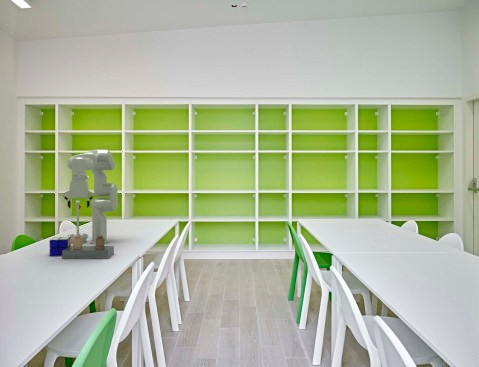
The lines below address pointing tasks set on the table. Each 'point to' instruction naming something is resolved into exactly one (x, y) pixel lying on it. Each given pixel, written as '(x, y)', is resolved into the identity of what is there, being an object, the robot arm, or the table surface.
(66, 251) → the block
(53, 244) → the puzzle cube
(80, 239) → the terracotta plug
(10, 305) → the table surface
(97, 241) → the walnut plug
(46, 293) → the table surface
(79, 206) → the flag stand
